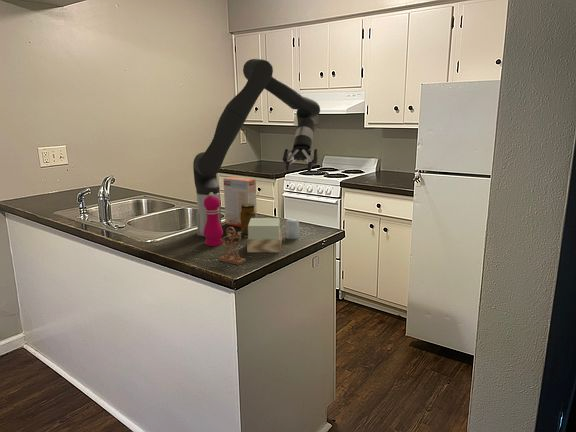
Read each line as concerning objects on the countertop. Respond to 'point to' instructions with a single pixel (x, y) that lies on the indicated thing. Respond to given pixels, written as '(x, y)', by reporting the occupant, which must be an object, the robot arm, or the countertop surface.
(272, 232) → the sage top block
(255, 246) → the maple base block
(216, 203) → the pepper mill
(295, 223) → the blue round block
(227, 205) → the cracker box
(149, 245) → the countertop surface
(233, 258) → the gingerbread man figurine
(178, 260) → the countertop surface
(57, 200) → the countertop surface
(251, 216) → the condiment
